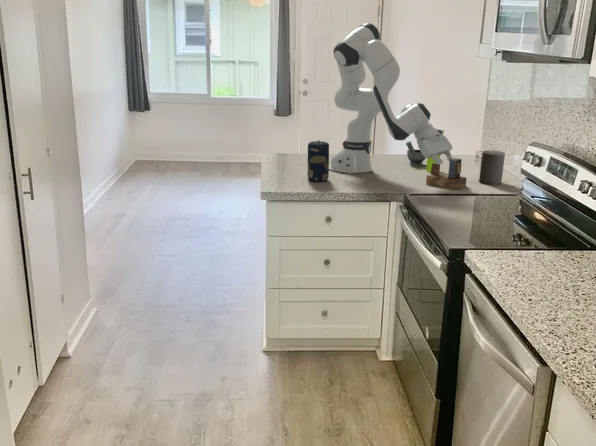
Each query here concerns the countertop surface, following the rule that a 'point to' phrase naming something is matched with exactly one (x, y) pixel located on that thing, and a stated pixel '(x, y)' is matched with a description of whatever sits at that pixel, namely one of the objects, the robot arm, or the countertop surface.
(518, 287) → the countertop surface
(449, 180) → the hand plane
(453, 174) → the lever cap
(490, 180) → the pillar candle
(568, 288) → the countertop surface
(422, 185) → the countertop surface
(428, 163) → the soap dispenser
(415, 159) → the mortar and pestle
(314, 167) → the canister
